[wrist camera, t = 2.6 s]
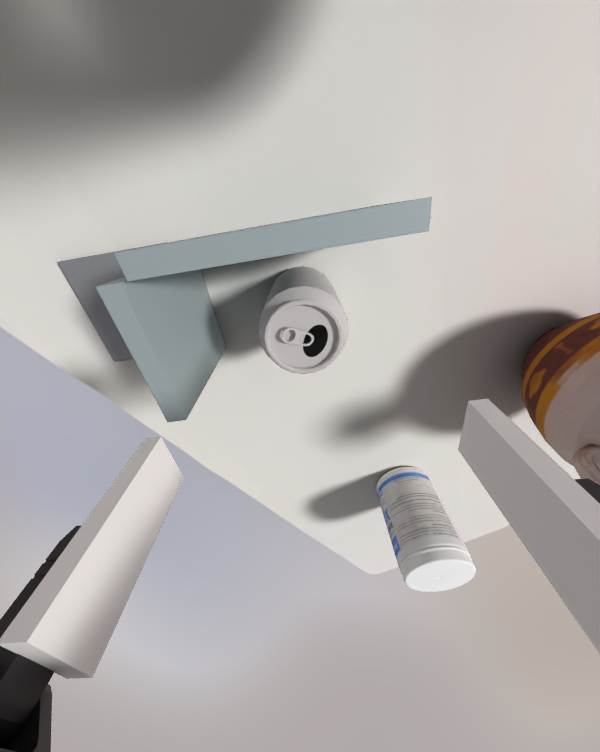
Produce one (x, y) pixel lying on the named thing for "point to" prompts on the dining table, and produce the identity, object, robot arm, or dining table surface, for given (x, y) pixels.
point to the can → (303, 321)
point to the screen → (191, 299)
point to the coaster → (98, 296)
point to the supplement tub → (422, 532)
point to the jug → (567, 392)
